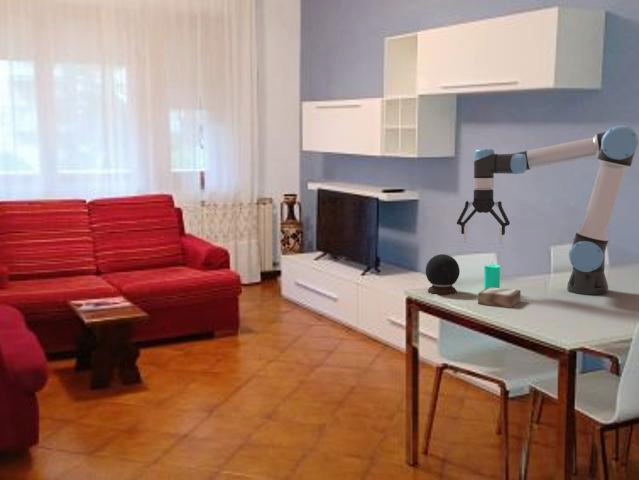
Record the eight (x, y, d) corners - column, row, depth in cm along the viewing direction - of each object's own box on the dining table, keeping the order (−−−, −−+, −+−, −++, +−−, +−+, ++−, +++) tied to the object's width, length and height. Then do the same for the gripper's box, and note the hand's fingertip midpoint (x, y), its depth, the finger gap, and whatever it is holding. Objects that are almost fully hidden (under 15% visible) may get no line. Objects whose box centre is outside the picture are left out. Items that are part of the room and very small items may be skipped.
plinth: (520, 300, 266) (520, 289, 265) (510, 307, 256) (511, 295, 255) (488, 297, 272) (488, 286, 271) (478, 303, 262) (478, 292, 261)
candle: (498, 290, 284) (499, 260, 282) (500, 293, 278) (501, 263, 276) (482, 290, 285) (483, 260, 283) (484, 293, 279) (485, 263, 277)
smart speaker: (436, 296, 274) (436, 258, 272) (419, 290, 286) (419, 253, 284) (465, 293, 279) (466, 255, 277) (447, 287, 291) (448, 251, 289)
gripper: (517, 188, 280) (516, 242, 283) (452, 188, 287) (452, 240, 290) (516, 189, 273) (515, 244, 276) (450, 189, 280) (449, 243, 283)
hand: (482, 242), depth 283 cm, fingers open, 13 cm apart
